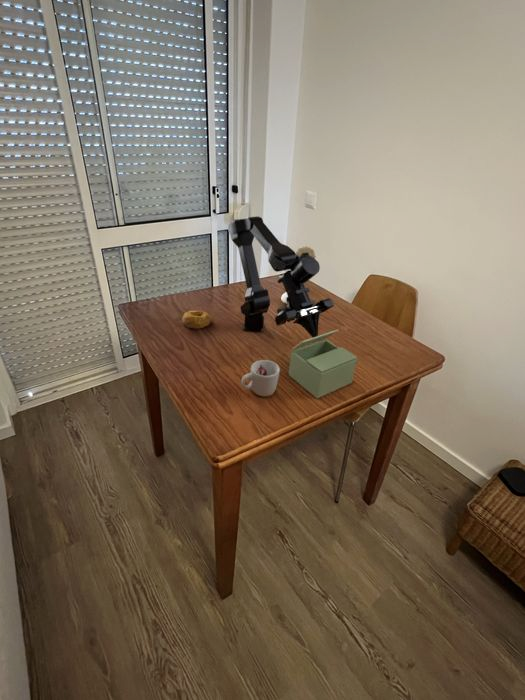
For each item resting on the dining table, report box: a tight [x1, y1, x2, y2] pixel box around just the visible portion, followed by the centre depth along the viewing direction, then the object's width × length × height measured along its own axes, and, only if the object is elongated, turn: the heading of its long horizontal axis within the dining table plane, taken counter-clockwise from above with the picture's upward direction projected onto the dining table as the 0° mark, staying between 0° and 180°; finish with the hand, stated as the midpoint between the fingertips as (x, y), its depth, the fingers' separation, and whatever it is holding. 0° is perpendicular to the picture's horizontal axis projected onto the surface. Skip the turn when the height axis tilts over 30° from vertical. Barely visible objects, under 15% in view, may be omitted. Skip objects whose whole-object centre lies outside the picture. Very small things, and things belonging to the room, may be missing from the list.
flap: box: [291, 329, 339, 351], centre depth 103 cm, size 6×14×1 cm
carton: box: [288, 339, 358, 399], centre depth 104 cm, size 13×14×9 cm
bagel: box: [181, 310, 213, 330], centre depth 130 cm, size 10×11×5 cm
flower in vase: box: [280, 245, 316, 305], centre depth 145 cm, size 13×11×25 cm
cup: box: [240, 359, 281, 397], centre depth 97 cm, size 11×8×8 cm
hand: (315, 338), depth 102 cm, fingers closed, pressing on flap
